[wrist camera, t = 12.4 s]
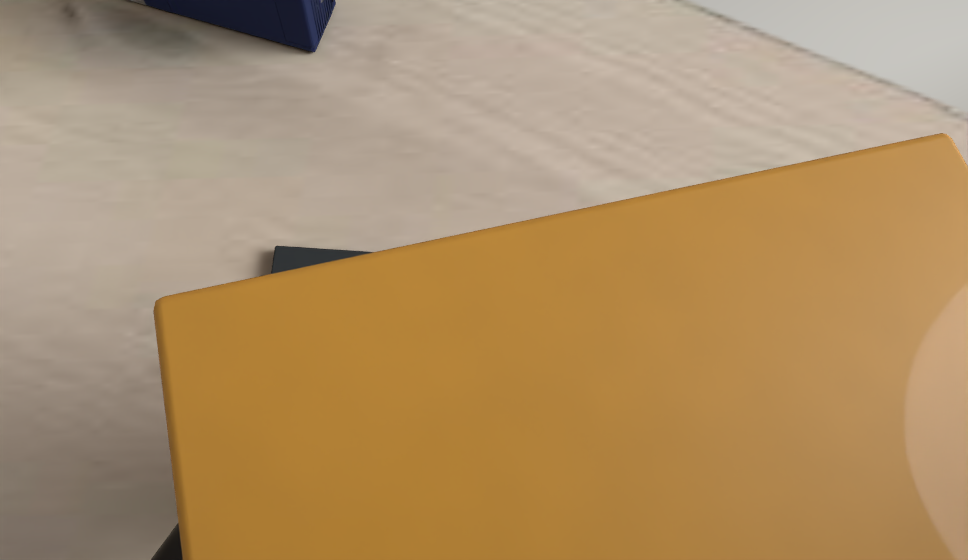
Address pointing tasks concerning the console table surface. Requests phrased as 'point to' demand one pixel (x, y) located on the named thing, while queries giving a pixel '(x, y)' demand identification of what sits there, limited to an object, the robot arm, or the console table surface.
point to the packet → (599, 382)
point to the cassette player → (259, 17)
